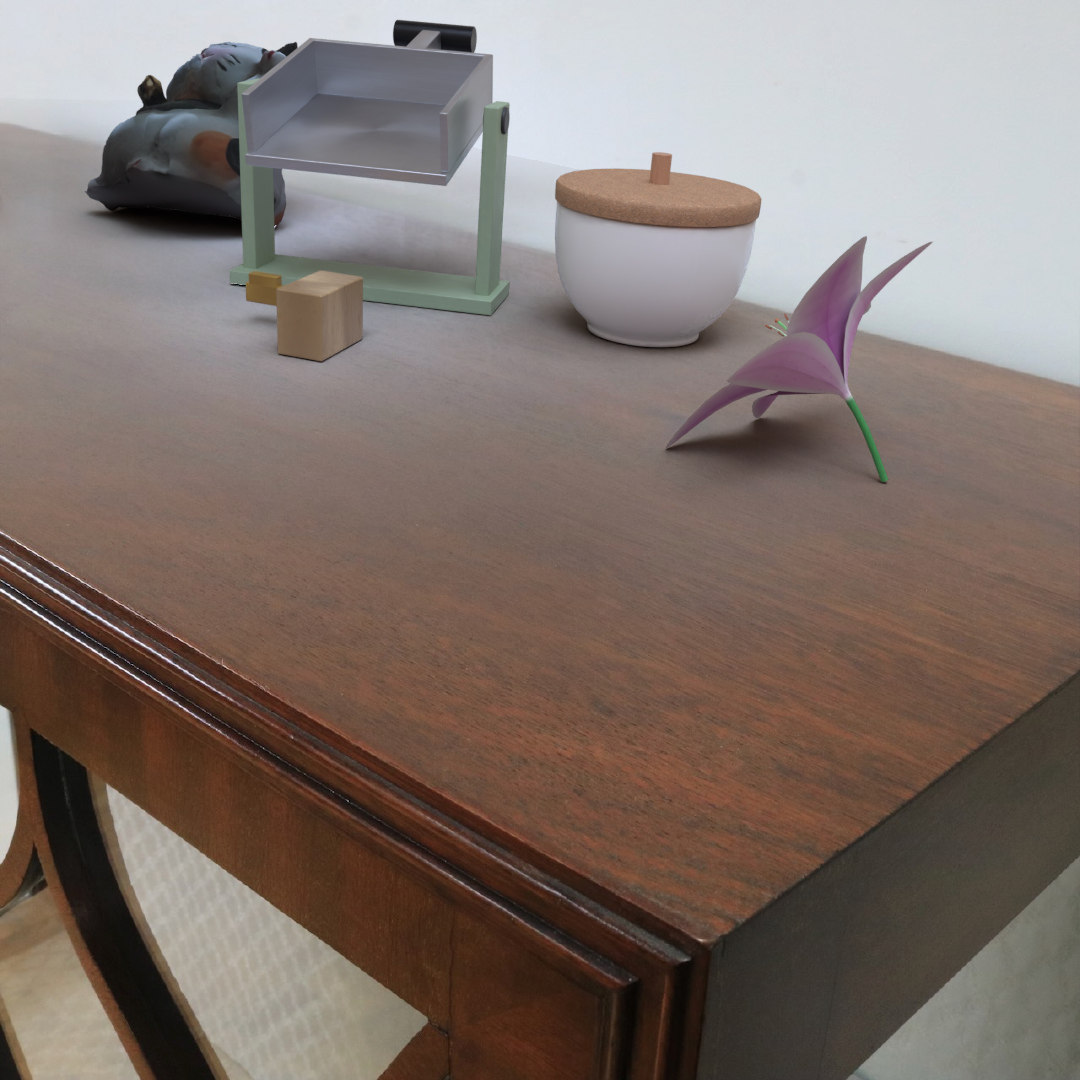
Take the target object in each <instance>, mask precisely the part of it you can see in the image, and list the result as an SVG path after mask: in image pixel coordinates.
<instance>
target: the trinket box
mask: <svg viewBox="0 0 1080 1080" xmlns="http://www.w3.org/2000/svg"><path fill="white" fill-rule="evenodd" d="M650 161H651V163H650V169H642V168H641V169H640V168H591V169H590V168H589V169H580V170H574V171H570V172H566V173H563V174H561V175H560V176H559V177H557V179H556V180H555V190H554V199H555V201H556V208H555V222H554V245H555V246H554V247H555V248H554V249H555V259H556V265H557V266H556V267H557V272H558V275H559V279H560V282H561V285H562V288H563V290H564V292H565V294H566V296H567V298H568V300H569V301H570V303H571V304H572V306H573V307H574V309H575V310H576V311H577V312H578V313H579V315H581V317H582V318H583V319H584V320H585V321H586V322H587V325H586V327H587V329H588V331H590V333H591V334H593V335H595V336H596V337H599V338H602V339H604V340H606V341H607V340H608V341H611V342H614V343H619V344H624V345H629V346H636V347H646V348H647V347H648V348H671V347H672V348H673V347H681V346H685V345H689V344H692V343H695V342H696V341H697V340H698V339H699V335H700V333H701V332H702V331H704V330H705V329H707V328H708V327H710V326H712V325H713V324H714V323H715V322H716V321H717V320H718V319H719V318H720V317H721V316H722V315H723V314H724V313H725V312H726V311H727V310H728V308H729V307H730V305H731V304H732V303H733V301H734V299H735V297H736V296H737V295H738V293H739V291H740V288H741V286H742V284H743V282H744V279H745V276H746V273H747V270H748V266H749V261H750V258H751V254H752V249H753V243H754V238H755V232H756V225H757V220H758V219H759V218H760V213H761V208H762V197H761V195H760V194H759V193H758V192H757V191H755V190H753V189H751V188H749V187H748V186H745V185H741V184H737V183H735V182H732V181H727V180H724V179H719V178H714V177H708V176H704V175H699V174H698V175H697V174H690V173H683V172H676V171H671V169H672V161H673V154H672V153H668V152H662V151H661V152H660V151H654V152H652V153H651V160H650Z"/></svg>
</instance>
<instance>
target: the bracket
mask: <svg viewBox="0 0 1080 1080" xmlns="http://www.w3.org/2000/svg"><path fill="white" fill-rule="evenodd" d="M259 79H260V78H258V79H253V80H248V81H243V82H239V83H237V88H238V118H239V149H240V180H241V210H242V220H241V234H242V235H241V236H242V240H241V241H242V263H241V264H240V265H237V266H236V267H234V268H232V269H230V270H229V284H230V283H233V284H234V283H237V284H242V285H246V282H248V281H249V273H250V272H253V271H258V272H264V273H271V274H277V275H281V276H282V285H287V284H289V283H292V282H294V281H296V280H299V279H301V278H304V277H306V276H308V275H311V274H313V273H315V272H318V271H320V270H322V271H328V272H334V273H341V274H347V275H353V276H360V277H363V301H365V302H375V303H383V304H391V305H398V306H399V305H401V306H408V307H416V308H425V309H432V310H440V311H441V310H442V311H449V312H457V313H465V314H466V313H468V314H474V315H482V316H483V315H484V316H492V315H493V314H494V312H495V311H496V310H497V308H498V307H500V305H501V304H502V303H503V302H504V301H505V299H507V297H508V296H509V295H510V283H511V282H510V281H509V280H503V279H500V277H501V263H502V262H501V261H502V245H503V244H502V243H503V229H504V228H503V226H504V225H503V224H504V210H505V209H504V208H505V193H506V190H505V189H506V177H507V176H506V174H507V173H506V172H507V158H508V157H507V156H508V142H509V141H508V138H509V127H510V120H511V119H510V106H511V105H510V102H509V101H498V100H497V101H494V102H492V104H489V105H487V106H485V107H484V114H483V132H482V138H481V139H482V140H481V159H480V161H481V162H480V179H479V180H480V182H479V199H478V200H479V201H478V202H479V203H478V221H477V240H476V243H477V244H476V259H475V260H476V261H475V262H476V263H475V276H469V275H461V274H460V275H459V274H450V273H441V272H434V271H424V270H416V269H407V268H399V267H389V266H382V265H373V264H363V263H355V262H346V261H338V260H329V259H322V258H321V259H320V258H314V257H313V258H312V257H302V256H296V255H295V256H293V255H286V254H277V253H276V243H275V242H276V240H275V239H276V238H275V235H276V233H275V229H274V187H273V168H269V167H260V166H251V165H247V164H246V156H245V155H246V154H247V153H248V152H249V151H248V148H247V139H246V130H245V121H244V112H243V104H242V95H241V94H242V93H243V92H244V91H245V90H247V89H248V88H249V87H250V86H252V85H253V84H254V83H255V82H256V81H258V80H259Z"/></svg>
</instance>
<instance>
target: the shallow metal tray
mask: <svg viewBox="0 0 1080 1080" xmlns="http://www.w3.org/2000/svg"><path fill="white" fill-rule="evenodd" d="M392 41H393V45H392V44H380V43H371V42H358V41H348V40H337V39H325V38H324V39H323V38H316V37H309V38H308V39H306V40H305V41H304V42H302V43H301V44H300V45H299V46H298V48H297V49H296V50H294V51H293V52H292V53H291V54H289V55H288V56H287V57H286V58H285V59H283V60H282V61H281V62H280V63H278V64H277V65H276V66H275V67H274V68H272V69H271V70H270V71H269V72H267V73H266V74H265V75H264V76H263V77H261V78H260V79H259V80H258V81H256V82H255V83H254V84H253V85H252V86H250V87H249V88H248V89H247V90H245V91H244V92H243V93H242V94H241V95H242V104H243V112H244V121H245V130H246V139H247V148H248V151H249V152H248V153H247V154H246V155H245V156H246V164H247V165H251V166H260V167H269V168H279V169H282V170H290V171H299V172H309V173H317V174H327V175H336V176H337V175H338V176H346V177H356V178H364V179H365V178H366V179H374V180H383V181H392V182H393V181H394V182H403V183H412V184H422V185H430V186H431V185H432V186H441V187H442V186H443V187H447V186H448V184H449V182H450V181H451V180H452V178H453V177H454V175H455V174H456V172H457V171H458V169H459V168H460V166H462V164H463V162H464V160H465V159H466V158H467V156H468V154H469V153H470V152H471V150H472V149H473V147H474V145H475V144H476V143H477V142H478V140H479V138H480V137H481V135H483V114H484V107H485V106H487V105H489V104H492V103H493V100H494V99H493V98H494V97H493V94H494V93H493V91H494V89H493V87H494V86H493V85H494V84H493V83H494V55H493V54H490V53H480V52H476V48H477V42H478V34H477V28H476V26H475V25H474V26H473V25H464V24H463V25H462V24H451V23H450V24H449V23H439V22H428V21H419V20H405V19H395V21H394V23H393V29H392Z"/></svg>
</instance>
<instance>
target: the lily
mask: <svg viewBox="0 0 1080 1080" xmlns="http://www.w3.org/2000/svg"><path fill="white" fill-rule="evenodd" d="M867 240H868V236H867V235H865V236H863V237H861V238H860V239H859V240H857V241H855V243H853V244H852V245H851V246H850V247H848V249H846V250H845V251H844V252H843V253H842V254H841V255H840V256H839V257H837V258H836V260H835V261H833V263H832V264H831V265H830V266H829V267H828V268H827V269H826V270H825V271H824V272H823V273H822V274H821V275H820V276H819V278H818V279H817V280H816V281H814V283H813V284H812V286H811V287H810V288H809V289H808V290H807V292H805V294H804V295H803V297H802V298H801V300H800V301H799V303H798V304H797V305H796V307H795V308H794V310H793V312H792V315H791V316H790V320H789V317H788V315H787V314H786V313H783V316H784V318H785V320H786V322H787V323H788V325H787V326H786V324H784V323H783V322H782V321H780V319H779V318H775V319H774V323H775V324H777V325H779V326H780V327H781V328H782V329H784V330H785V331H786V334H785V333H784V331H782V330H780V329H778V328H777V327H775V326H773V325H768V324H765V325H764V327H766V328H767V329H769V330H773V329H774V330H776V331H777V334H778V335H779V336H782V337H783V338H781V339H779V340H777V341H775V342H773V343H772V344H770V345H768V347H766V348H764V349H762V350H761V351H759V352H758V353H757V354H755V355H754V356H752V357H751V358H750V359H748V360H747V361H746V362H744V364H742V365H741V366H740V367H739V368H737V370H735V371H734V372H733V374H732V375H731V376H729V378H728V379H727V380H726V381H727V383H729V384H727V385H725V386H723V387H722V388H721V389H719V390H718V391H717V392H715V393H714V394H713V395H712V396H710V397H709V398H707V400H705V401H704V402H703V403H702V404H701V405H700V406H699V407H698V408H697V409H696V410H695V411H694V412H693V413H692V414H691V415H690V416H689V417H688V418H687V420H685V421H684V423H683V424H682V425H681V426H680V427H679V428H678V429H677V431H676V432H675V433H674V434H673V436H672V437H671V439H670V440H669V441H668V442H667V443H666V446H665V448H664V449H668V448H669V447H671V446H672V445H674V444H675V443H676V442H677V441H680V439H681V438H683V437H684V436H686V434H688V433H689V432H690V431H692V430H693V429H695V427H697V426H698V425H699V424H701V423H702V422H704V421H705V420H706V419H708V418H709V417H710V416H712V415H713V414H715V413H716V412H718V411H719V410H721V409H723V408H725V407H727V406H729V405H730V404H732V403H734V402H737V401H739V400H741V399H744V398H746V397H748V396H750V395H754V394H757V393H761V392H765V391H776V392H772V393H770V394H766V395H763V396H760V397H758V398H757V399H755V400H754V401H753V402H752V405H751V412H752V415H753V417H754V418H755V419H760V418H761V417H762V416H763V415H764V414H765V413H766V411H767V410H768V409H769V407H770V406H771V405H772V404H773V402H775V400H776V399H777V398H778V396H788V395H789V396H791V395H794V396H795V395H823V394H824V395H825V394H827V395H835V396H836V395H837V396H838V397H840V398H842V400H844V402H845V403H846V405H847V406H848V408H849V410H850V411H851V413H852V414H853V416H854V418H855V420H856V422H857V423H858V426H859V428H860V430H861V433H862V435H863V437H864V440H865V442H866V446H867V448H868V450H869V452H870V455H871V457H872V460H873V463H874V467H875V469H876V472H877V474H878V477H879V479H880V482H881V483H885V482H887V481H889V477H888V474H887V472H886V470H885V469H886V468H885V466H884V464H883V460H882V458H881V455H880V453H879V450H878V447H877V445H876V443H875V440H874V437H873V435H872V432H871V429H870V428H869V426H868V423H867V422H866V419H865V418H864V416H863V413H862V411H861V409H860V407H859V405H858V404H857V402H856V400H855V398H854V397H853V395H852V393H851V391H850V388H849V384H848V376H849V365H850V359H851V356H852V351H853V347H854V341H855V338H856V334H857V331H858V328H859V325H860V322H861V320H862V318H863V316H864V315H866V314H867V313H868V312H869V311H870V309H871V307H872V301H873V300H874V298H876V296H877V295H878V294H880V292H881V291H882V290H883V289H884V288H885V287H886V285H888V283H890V282H891V281H892V280H893V279H894V278H895V277H896V276H897V275H898V274H899V273H900V272H901V271H902V270H904V269H905V267H907V266H908V265H909V264H910V263H912V261H914V260H915V259H916V258H917V257H918V256H919V255H920V254H921V253H923V252H924V251H925V250H926V249H928V248H929V247H930V246H931V245H932V244H933V243H934V242H935V241H929V242H926V243H925V244H923V245H920V246H918V247H916V248H914V249H913V250H911V251H910V252H908V253H906V255H904V256H902V257H900V258H899V259H897V260H896V261H894V262H893V263H892V264H890V265H889V266H888V267H886V268H885V269H883V270H882V271H881V272H879V273H878V274H877V275H876V276H874V277H873V279H871V280H870V281H869V282H868V283H867V284H866V285H865V286H864V288H862V281H863V264H864V263H863V262H864V261H863V260H864V253H865V248H866V245H867Z"/></svg>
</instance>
